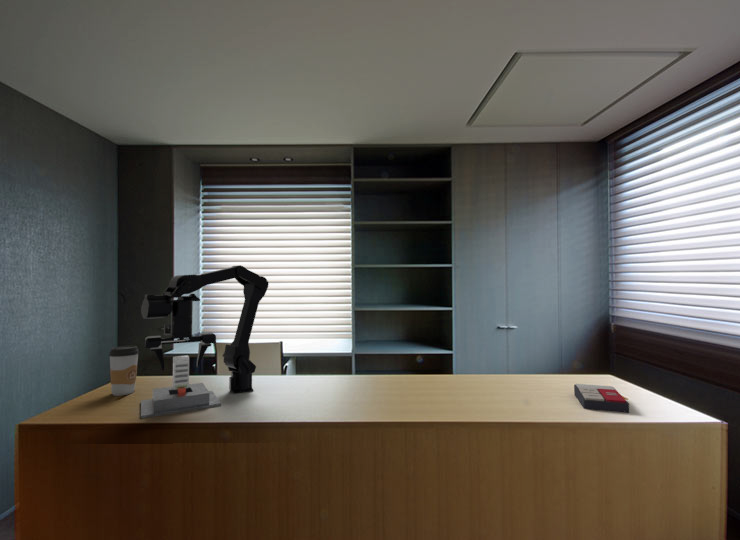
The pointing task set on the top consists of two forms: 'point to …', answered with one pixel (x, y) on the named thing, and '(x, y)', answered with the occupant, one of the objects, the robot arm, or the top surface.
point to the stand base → (178, 400)
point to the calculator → (600, 398)
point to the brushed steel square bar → (180, 372)
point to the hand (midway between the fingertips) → (180, 369)
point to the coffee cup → (123, 369)
